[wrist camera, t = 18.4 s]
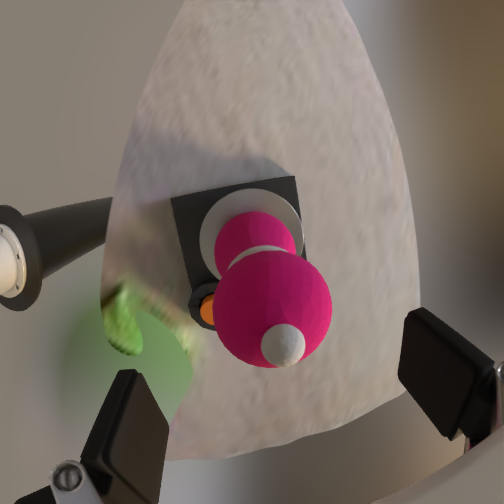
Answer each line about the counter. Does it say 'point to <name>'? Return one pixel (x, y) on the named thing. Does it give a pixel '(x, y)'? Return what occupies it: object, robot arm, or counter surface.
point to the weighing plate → (245, 203)
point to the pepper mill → (267, 294)
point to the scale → (189, 226)
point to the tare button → (207, 309)
